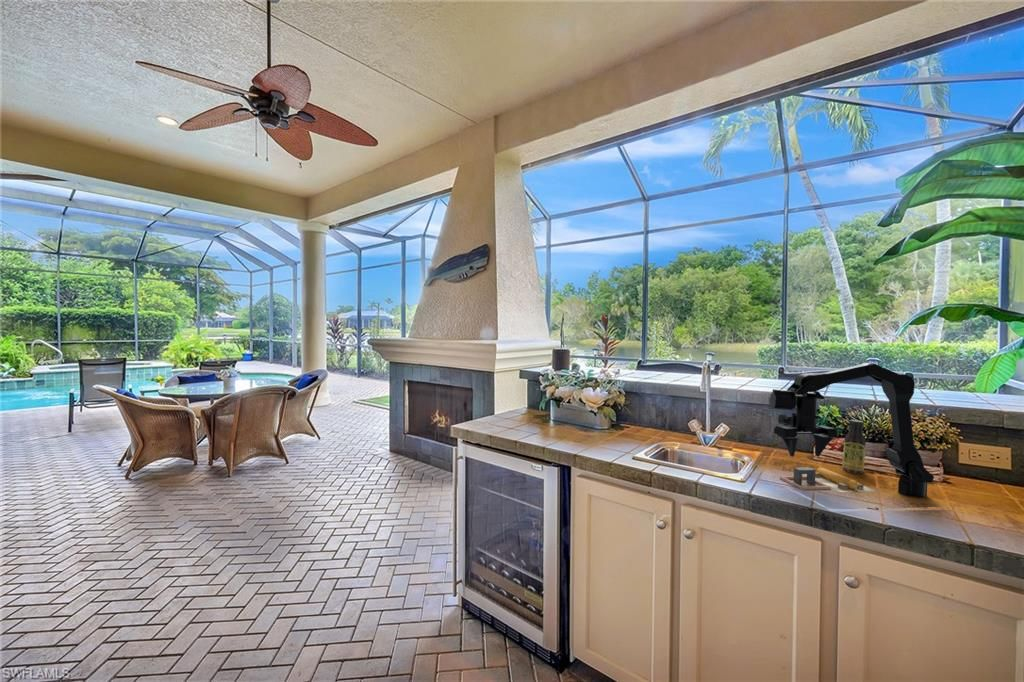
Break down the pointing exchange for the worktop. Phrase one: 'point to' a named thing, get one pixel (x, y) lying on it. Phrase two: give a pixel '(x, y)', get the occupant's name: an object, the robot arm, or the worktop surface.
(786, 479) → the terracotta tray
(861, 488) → the cradle board
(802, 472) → the dark gray horseshoe block
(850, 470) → the sauce bottle
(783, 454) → the worktop surface
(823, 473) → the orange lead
